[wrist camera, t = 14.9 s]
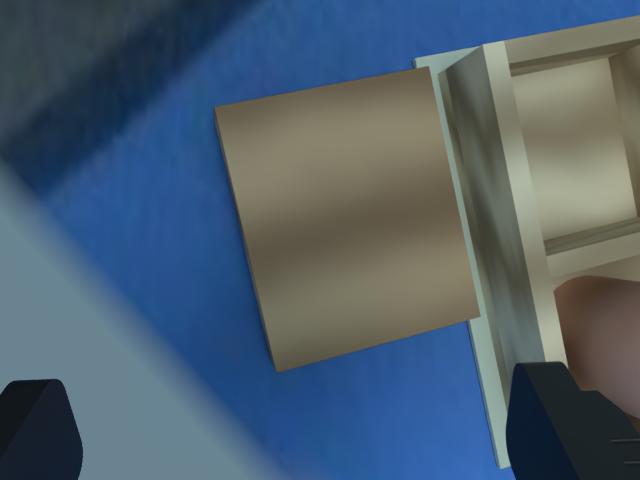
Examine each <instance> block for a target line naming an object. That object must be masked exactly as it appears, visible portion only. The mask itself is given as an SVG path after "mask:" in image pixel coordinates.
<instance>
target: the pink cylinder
mask: <svg viewBox="0 0 640 480" xmlns="http://www.w3.org/2000/svg"><path fill="white" fill-rule="evenodd" d="M553 293H554V298H555V303H556V308H557V313H558V318H559V323H560V328H561V333H562V339H563V344H564V349H565V354H566V359H567V364H568V369H569V371H570V373H571V375H572V376H573V378H574V380H575V381H576V383H577V385H578V386H579V388H580V390H581V391H591V390H598V391H599V392H600V393H601V394H603V395H604V396H605V397H606V398H608V399H609V400H610V401H611V402H613V403H614V404H615V405H616V406H618V407H619V408H620V409H621V410H623V411H624V412H626V413H628V414H630V415H632V416H634V417H636V418H639V419H640V282H638V281H631V280H623V279H616V278H609V277H602V276H594V275H584V276H579V277H575V278H572V279H570V280H568V281H566V282H564V283H562V284H561V285H560V286H558V287H557V288H556V289H555V290H554V291H553Z"/></svg>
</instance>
